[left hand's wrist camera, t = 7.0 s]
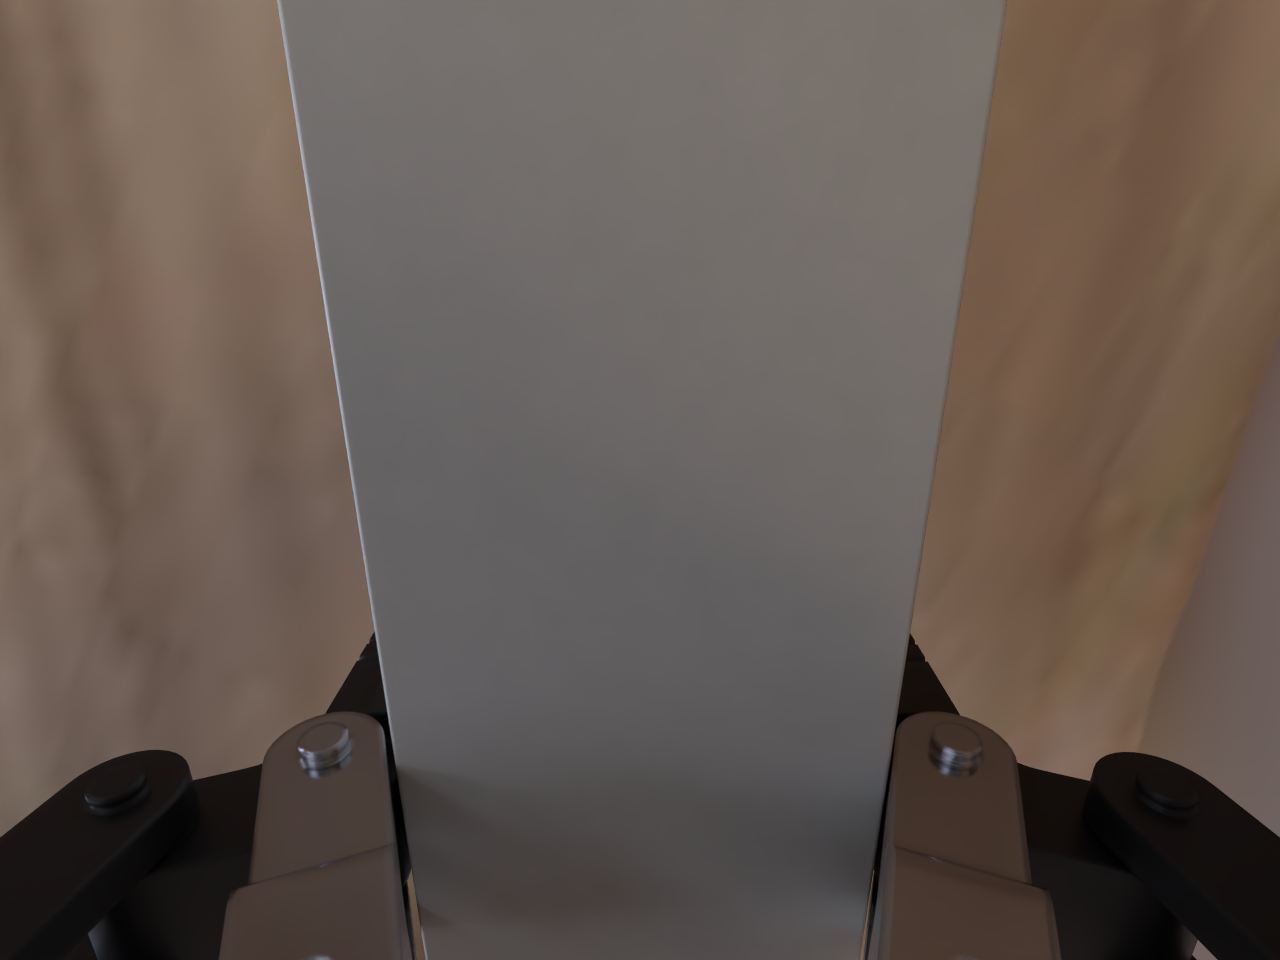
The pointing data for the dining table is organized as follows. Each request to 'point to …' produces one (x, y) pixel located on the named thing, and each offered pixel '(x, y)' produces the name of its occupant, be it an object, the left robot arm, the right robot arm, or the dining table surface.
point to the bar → (642, 439)
